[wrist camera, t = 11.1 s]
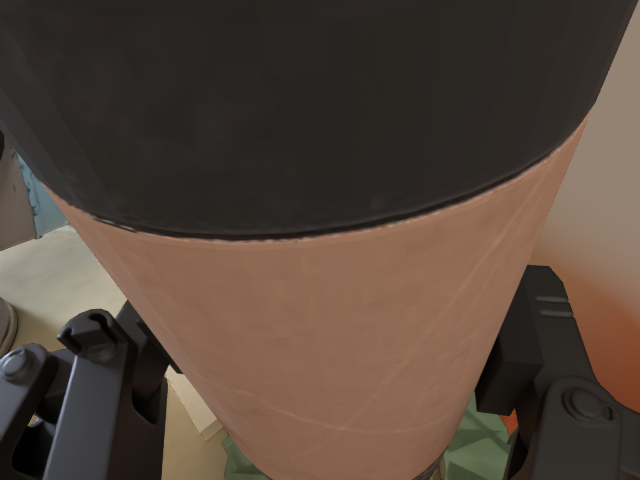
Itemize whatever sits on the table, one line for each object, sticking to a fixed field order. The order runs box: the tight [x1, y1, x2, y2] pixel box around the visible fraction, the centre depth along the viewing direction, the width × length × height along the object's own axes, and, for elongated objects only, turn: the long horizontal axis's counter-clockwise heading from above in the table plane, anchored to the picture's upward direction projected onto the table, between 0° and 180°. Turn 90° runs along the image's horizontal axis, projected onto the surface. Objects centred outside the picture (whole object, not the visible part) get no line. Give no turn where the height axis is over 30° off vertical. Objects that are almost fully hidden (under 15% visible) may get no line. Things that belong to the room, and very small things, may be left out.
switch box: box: [165, 365, 223, 440], centre depth 36 cm, size 10×12×4 cm
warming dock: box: [221, 391, 511, 480], centre depth 29 cm, size 21×21×2 cm
